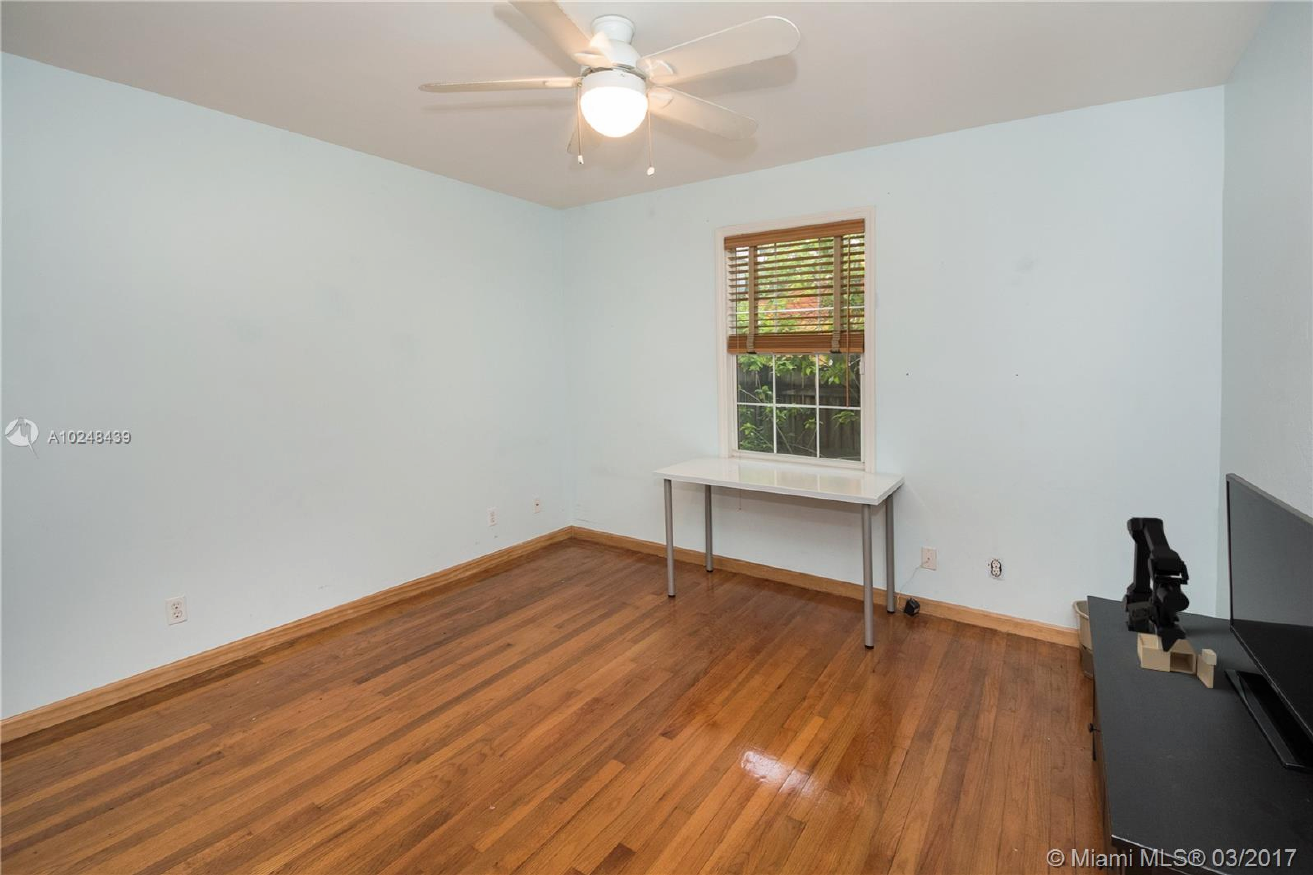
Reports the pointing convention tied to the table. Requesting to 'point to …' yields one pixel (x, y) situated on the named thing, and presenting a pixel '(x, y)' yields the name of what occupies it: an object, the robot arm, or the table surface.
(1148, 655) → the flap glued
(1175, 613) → the robot arm
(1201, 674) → the flap open
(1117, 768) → the table surface
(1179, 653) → the carton
